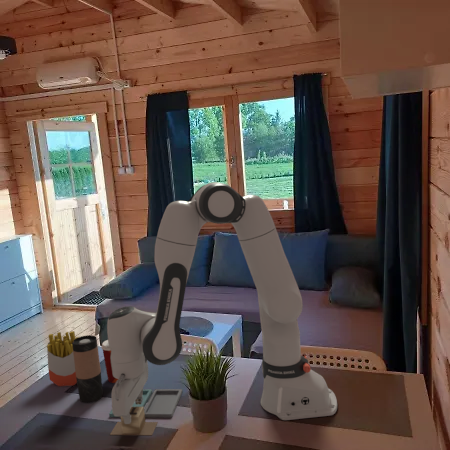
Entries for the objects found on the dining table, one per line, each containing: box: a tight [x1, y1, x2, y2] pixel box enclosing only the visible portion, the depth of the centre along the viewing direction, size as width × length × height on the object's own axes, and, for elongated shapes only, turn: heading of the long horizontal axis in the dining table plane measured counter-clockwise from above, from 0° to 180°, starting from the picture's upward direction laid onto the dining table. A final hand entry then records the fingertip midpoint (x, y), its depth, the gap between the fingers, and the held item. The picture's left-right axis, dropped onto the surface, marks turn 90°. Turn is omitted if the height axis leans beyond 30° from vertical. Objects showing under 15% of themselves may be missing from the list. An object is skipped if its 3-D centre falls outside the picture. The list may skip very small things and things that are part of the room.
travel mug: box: [72, 334, 104, 404], centre depth 142 cm, size 8×8×20 cm
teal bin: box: [108, 388, 153, 418], centre depth 137 cm, size 9×14×2 cm, turn 173°
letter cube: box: [120, 407, 146, 434], centre depth 124 cm, size 5×5×5 cm
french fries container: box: [46, 330, 79, 387], centre depth 154 cm, size 5×11×18 cm, turn 88°
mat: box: [109, 421, 159, 437], centre depth 125 cm, size 12×6×1 cm, turn 83°
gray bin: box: [144, 388, 183, 419], centre depth 136 cm, size 9×14×2 cm, turn 173°
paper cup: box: [101, 339, 118, 384], centre depth 154 cm, size 8×8×14 cm
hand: (134, 412), depth 124 cm, fingers open, 8 cm apart
